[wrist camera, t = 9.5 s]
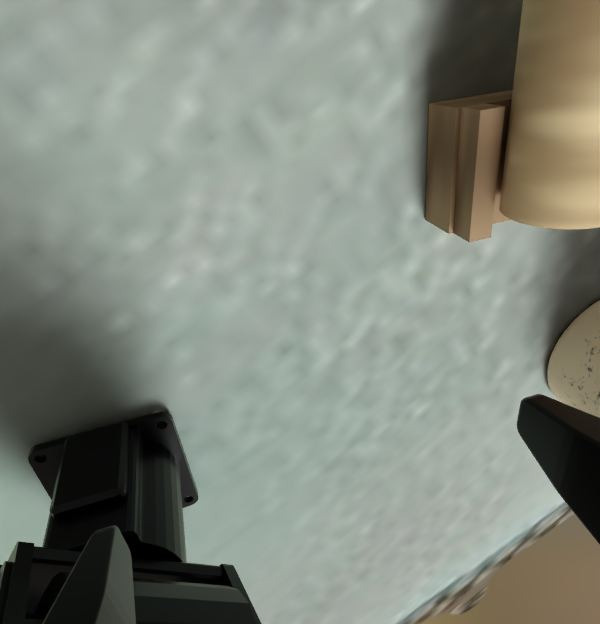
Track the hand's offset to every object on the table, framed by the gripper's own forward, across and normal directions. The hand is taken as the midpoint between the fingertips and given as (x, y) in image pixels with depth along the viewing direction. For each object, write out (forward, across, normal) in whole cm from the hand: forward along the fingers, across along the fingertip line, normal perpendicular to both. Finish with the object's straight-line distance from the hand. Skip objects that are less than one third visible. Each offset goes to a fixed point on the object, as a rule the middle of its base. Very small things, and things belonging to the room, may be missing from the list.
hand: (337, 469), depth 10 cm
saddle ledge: (+12, -13, -2) cm, 18 cm away
